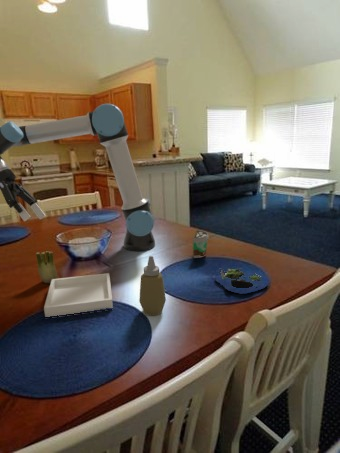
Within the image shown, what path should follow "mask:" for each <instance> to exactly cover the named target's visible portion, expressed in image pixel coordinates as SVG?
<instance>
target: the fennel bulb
mask: <svg viewBox="0 0 340 453" xmlns="http://www.w3.org/2000/svg"><path fill="white" fill-rule="evenodd" d="M35 255H36V259H37V270H38V275H39V277H40V279H41V281H42V282H43V283H44V284H51V281H52V279H58V274H57V269H56V266H55V262H54V252H53V251H49V250H48V251H47V250H46V251H43V252H41V253H40V252H36V253H35Z"/></svg>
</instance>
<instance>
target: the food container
mask: <svg viewBox="0 0 340 453" xmlns="http://www.w3.org/2000/svg"><path fill="white" fill-rule="evenodd" d="M195 231H196V232H195V234H194V237H192V239H193V240H192V245H193V246H192V250H193V251H192V253H193V257H199V256H204V255H205V254H206V255H207V247H208V241H209V239H210V237H209V233H208V232H207V231H205V230H201V229H196V230H195Z"/></svg>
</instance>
